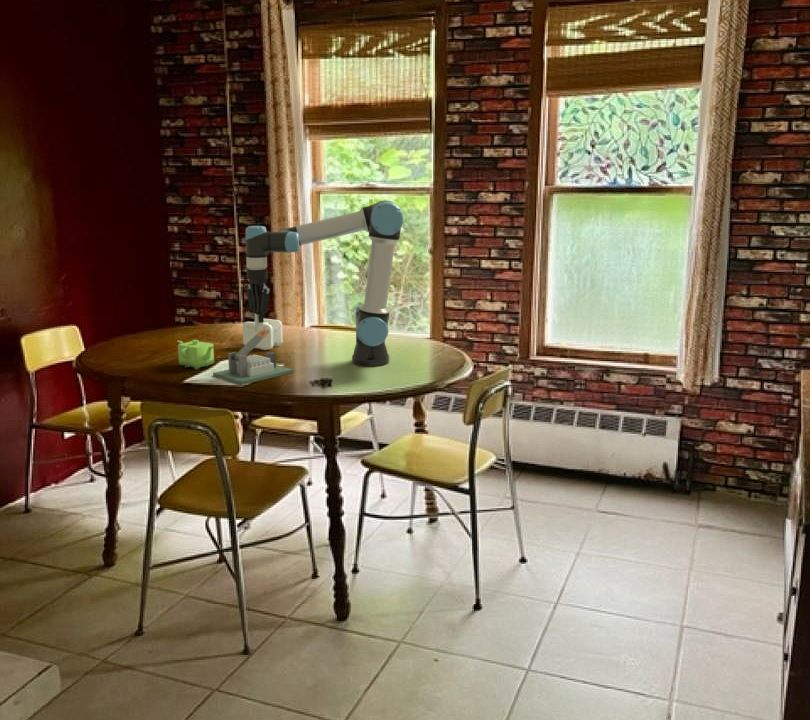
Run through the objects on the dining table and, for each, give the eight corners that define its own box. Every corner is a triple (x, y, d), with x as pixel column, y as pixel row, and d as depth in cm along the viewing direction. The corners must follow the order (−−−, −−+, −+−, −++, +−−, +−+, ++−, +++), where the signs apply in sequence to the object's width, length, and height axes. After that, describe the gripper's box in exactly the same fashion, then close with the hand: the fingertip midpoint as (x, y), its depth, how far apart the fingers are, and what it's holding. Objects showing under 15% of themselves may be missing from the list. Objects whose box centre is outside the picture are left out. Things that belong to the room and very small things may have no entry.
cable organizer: (284, 346, 345) (284, 320, 342) (270, 351, 336) (269, 324, 333) (257, 343, 351) (256, 317, 348) (242, 347, 342) (241, 321, 339)
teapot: (215, 369, 305) (214, 343, 303) (180, 372, 301) (178, 345, 299) (212, 360, 319) (211, 335, 317) (178, 363, 315) (176, 337, 313)
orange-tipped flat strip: (270, 333, 299) (268, 329, 298) (240, 362, 291) (238, 359, 290) (263, 331, 302) (260, 327, 301) (233, 360, 294) (230, 356, 293)
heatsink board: (293, 372, 302) (292, 349, 299) (241, 384, 284) (240, 360, 282) (264, 364, 313) (263, 342, 311) (213, 375, 296) (211, 352, 294)
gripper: (276, 269, 290) (277, 331, 296) (254, 265, 299) (256, 326, 305) (259, 270, 285) (261, 334, 291) (238, 267, 293) (240, 329, 299)
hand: (259, 330), depth 298 cm, fingers closed
